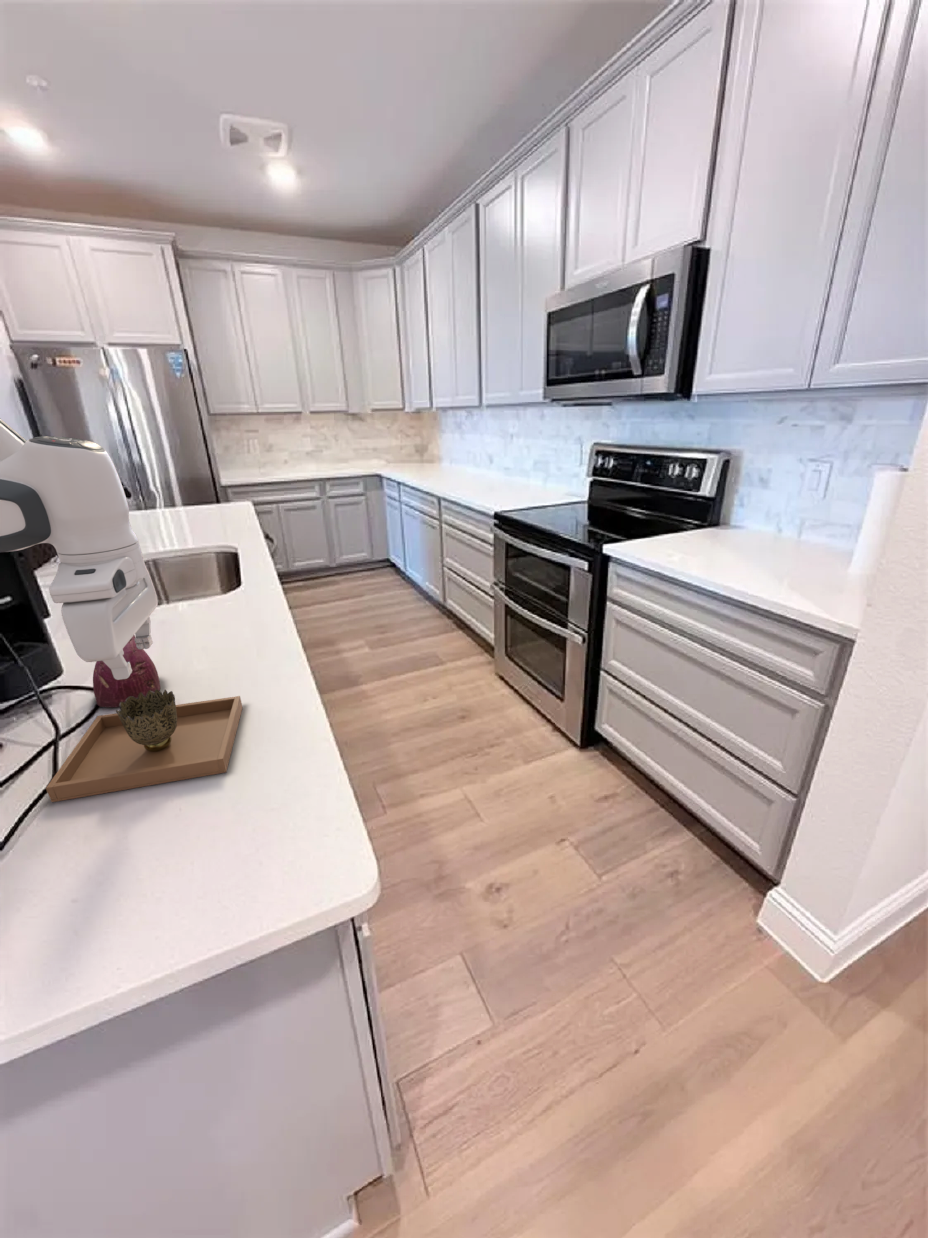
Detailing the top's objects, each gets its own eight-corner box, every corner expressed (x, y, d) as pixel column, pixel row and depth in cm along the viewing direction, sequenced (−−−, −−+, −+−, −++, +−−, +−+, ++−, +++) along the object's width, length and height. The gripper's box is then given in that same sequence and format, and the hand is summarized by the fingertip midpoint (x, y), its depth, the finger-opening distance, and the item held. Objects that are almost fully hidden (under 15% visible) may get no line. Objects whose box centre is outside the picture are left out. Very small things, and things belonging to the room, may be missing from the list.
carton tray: (51, 802, 67) (45, 788, 66) (101, 728, 83) (97, 715, 82) (226, 772, 72) (222, 758, 71) (242, 707, 88) (240, 695, 87)
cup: (180, 756, 75) (167, 710, 72) (124, 766, 73) (108, 719, 70) (190, 728, 82) (178, 685, 79) (138, 737, 80) (125, 693, 77)
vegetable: (147, 690, 100) (144, 615, 98) (172, 699, 94) (168, 619, 92) (84, 701, 92) (79, 619, 90) (106, 712, 86) (101, 624, 84)
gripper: (108, 550, 75) (134, 635, 80) (40, 595, 57) (80, 701, 62) (155, 546, 76) (177, 629, 82) (104, 588, 58) (137, 693, 64)
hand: (135, 661), depth 72 cm, fingers open, 8 cm apart
